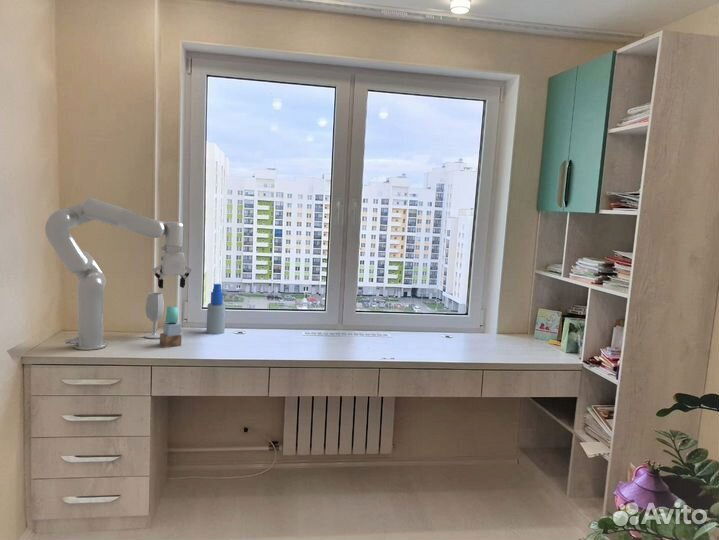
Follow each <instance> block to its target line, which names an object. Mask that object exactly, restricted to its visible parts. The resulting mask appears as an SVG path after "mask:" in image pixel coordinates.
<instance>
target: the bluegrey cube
mask: <svg viewBox="0 0 719 540" xmlns="http://www.w3.org/2000/svg"><path fill="white" fill-rule="evenodd" d="M181 329H182V328H181V323H179V322H177V323H172V322H163V330H162V332H163V334H165V335H167V336H176V335H181Z"/></svg>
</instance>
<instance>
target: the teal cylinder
mask: <svg viewBox="0 0 719 540" xmlns="http://www.w3.org/2000/svg"><path fill="white" fill-rule="evenodd" d="M179 310H180V307H179V306H167V307H166V314H165V323H169V322H172V323H178V320H179V319H178V318H179V312H180V311H179Z"/></svg>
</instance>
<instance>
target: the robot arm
mask: <svg viewBox="0 0 719 540" xmlns="http://www.w3.org/2000/svg"><path fill="white" fill-rule="evenodd" d="M92 221H96V222H101V223H102V224H103V223H104V224H106V225H110V226H113V227H116V228H118V229H122V230H127V231H131V232H133V233H136V234H140V235H142V236H146V237H149V238H153V239H159V238H160V237H164V245H163V246H161V247H160V250H161V251H163V252H162V254H161V256H160V263H159V265H157V266H156V267H154V268H152V269H151V270H152V272H153V275H154V276H155V278H157V287H158V288H159V289H163V288H164V279H163V278H164V277H165V276H180V278H179V287H180V288H182V289H184V288H185V286H186V279H187V278H188V277H189V276H190V273H191V272H192V268H190V267H188V266H187V265H186V257H185V253H184V252H183V243H184V242H183V240H184V239H183V238H184V237H183V236H184V235H183V234H184V224H183V223H182V222H181V221H180V222H178V221H162V220H158V219H152V218H150V217H147V216H143V215H140V214H138V213H134V212H133V211H131V210H129V209H127V208H125V207H124V208H123V207H121V206H118V205H115V204H111V203H108V202H105V201H103V200H99V199H97V198H91V197H90V198H86V199H85V200H83V201H82V202H81V203H79V204H76V205H73V206H70V207H66V208H63V209H62V208H61V209H57V210H55V211H54V212H53V213H51V214H50V215H49V216H48V218H47V220H46V222H45V227H44V228H45V229H44V231H45V237H46V239H47V240H48V242H49V243H50V245H51V247H52V248H53V250H54V252H55V253H56V254H57V257H59V259H60V261H61V262H62V264H63V265H64V267H65V268H66V270H67V271H68V272H70V273H72V274H74V275H75V276H76V277H77V278H78V280H79V282H78V285H77V295H78V296H77V297H78V301H77V302H78V310H77V311H78V316H77V317H78V319H77V322H78V323H77V325H78V326H77V327H78V329H77V335H75V337H73V338H66V339H64V343H65V344H66V345H68V344H69V345H73V348H74V349H76V350H82V351H92V350H93V351H94V350H99V349H104V348H106V347H107V345H108V343H107V341H104V317H105V316H104V311H105V310H104V309H105V308H104V307H105V305H104V302H105V300H104V299H105V298H104V297H105V295H104V292H105V291H104V290H105V287H106V285H107V278H106V276H105V274H104V273H103V271H102V269H100V267H99V265H98V264H97V262H96V260H94V258H93V256H92V255H91V253H89V252H88V251H86V250H83V249H81V247H80V246H79V244H78V243H77V241H76V240H75V238H74V237H73V236H72V234H71V231H70V230H72V229H74V228H76V227H79V226H82V225H84V224H87V223H89V222H92ZM158 271H159V273H158Z"/></svg>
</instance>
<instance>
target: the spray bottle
mask: <svg viewBox="0 0 719 540" xmlns="http://www.w3.org/2000/svg"><path fill="white" fill-rule="evenodd" d="M222 290H223V289H222V284H221V283H213V288H212V291H210V303H208V304H207V309H206V310H207V311H206V329H205V330H206V333H207V334H209V335H222V334H224V333H225V326H226V325H225V324H226V323H225V322H226V304H225V303H224V291H222Z"/></svg>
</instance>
